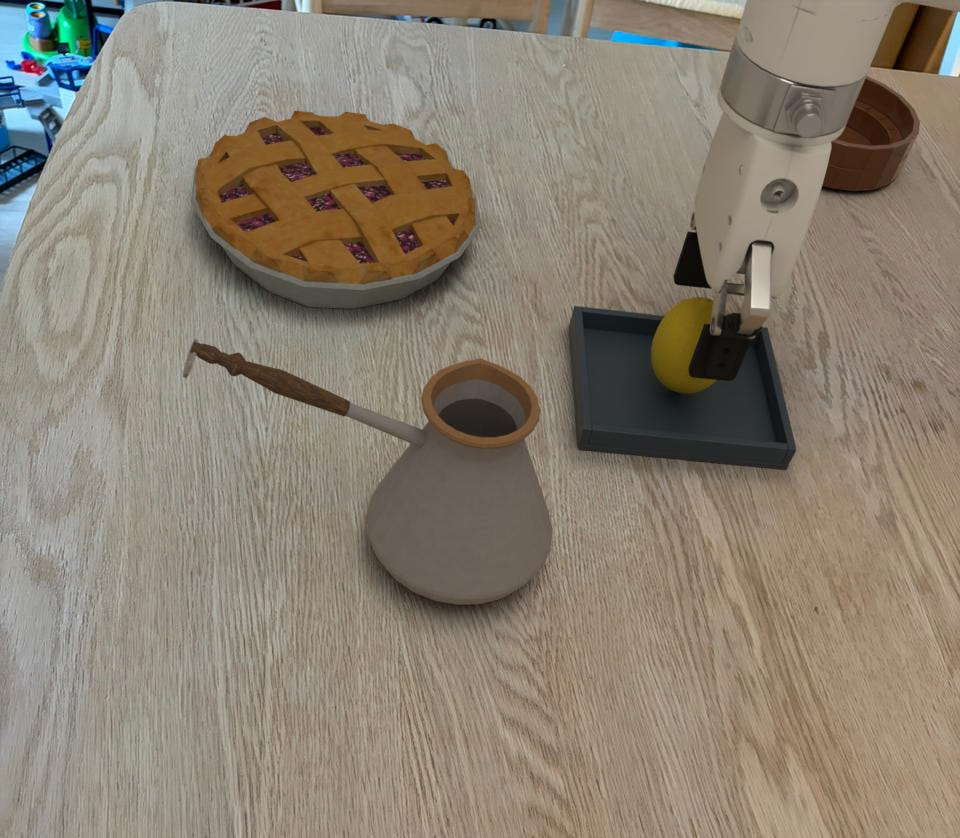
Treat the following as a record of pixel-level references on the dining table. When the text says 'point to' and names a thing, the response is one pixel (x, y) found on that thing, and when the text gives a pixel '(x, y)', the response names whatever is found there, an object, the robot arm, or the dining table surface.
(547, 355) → the dining table surface
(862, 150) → the bowl
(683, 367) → the lemon
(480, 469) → the coffee pot
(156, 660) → the dining table surface
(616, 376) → the tray
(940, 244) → the dining table surface
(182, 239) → the dining table surface
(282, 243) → the pie
